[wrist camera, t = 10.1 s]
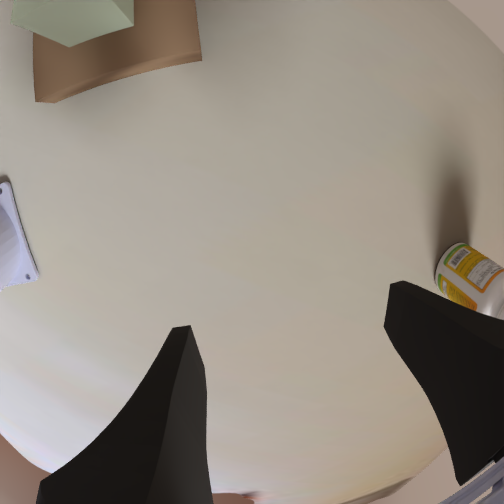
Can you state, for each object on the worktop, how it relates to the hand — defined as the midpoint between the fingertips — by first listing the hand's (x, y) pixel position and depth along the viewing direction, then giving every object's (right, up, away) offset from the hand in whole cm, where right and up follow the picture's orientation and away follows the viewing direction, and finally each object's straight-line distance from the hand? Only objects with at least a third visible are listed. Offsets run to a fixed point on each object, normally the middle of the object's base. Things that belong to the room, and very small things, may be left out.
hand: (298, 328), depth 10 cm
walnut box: (-10, +18, +3) cm, 21 cm away
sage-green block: (-10, +17, 0) cm, 19 cm away
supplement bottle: (+18, +1, +14) cm, 23 cm away
